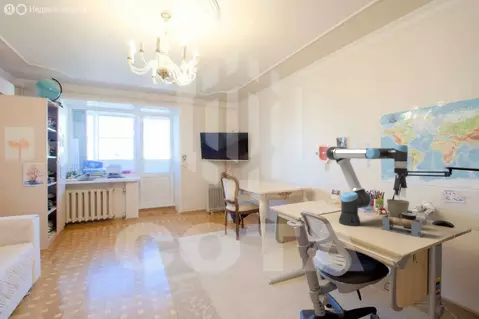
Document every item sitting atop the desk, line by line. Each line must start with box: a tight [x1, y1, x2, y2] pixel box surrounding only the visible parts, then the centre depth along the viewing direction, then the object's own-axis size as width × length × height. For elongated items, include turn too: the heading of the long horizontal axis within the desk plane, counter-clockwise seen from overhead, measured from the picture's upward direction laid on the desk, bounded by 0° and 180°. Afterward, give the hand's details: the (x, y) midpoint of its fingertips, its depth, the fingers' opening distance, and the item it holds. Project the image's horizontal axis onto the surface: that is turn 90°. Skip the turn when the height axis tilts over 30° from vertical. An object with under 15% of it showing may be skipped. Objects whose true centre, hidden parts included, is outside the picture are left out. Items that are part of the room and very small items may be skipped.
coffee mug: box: [399, 212, 417, 230], centre depth 169 cm, size 12×9×10 cm
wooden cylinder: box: [388, 216, 419, 228], centre depth 158 cm, size 17×5×5 cm, turn 41°
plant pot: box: [386, 198, 410, 219], centre depth 186 cm, size 15×15×16 cm
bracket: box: [381, 214, 424, 238], centre depth 159 cm, size 22×8×9 cm, turn 41°
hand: (400, 198), depth 160 cm, fingers open, 13 cm apart
